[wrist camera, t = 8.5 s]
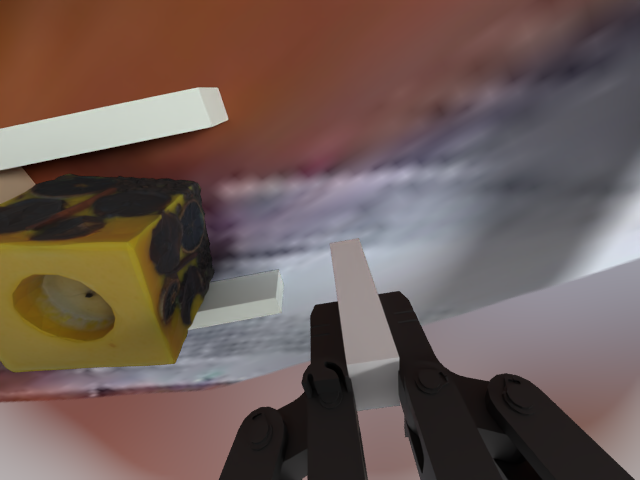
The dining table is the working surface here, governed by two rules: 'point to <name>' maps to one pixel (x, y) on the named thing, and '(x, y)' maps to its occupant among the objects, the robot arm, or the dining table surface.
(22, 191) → the bay
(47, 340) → the candle
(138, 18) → the dining table surface
